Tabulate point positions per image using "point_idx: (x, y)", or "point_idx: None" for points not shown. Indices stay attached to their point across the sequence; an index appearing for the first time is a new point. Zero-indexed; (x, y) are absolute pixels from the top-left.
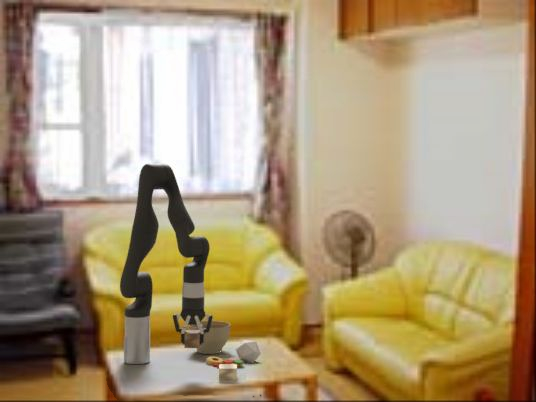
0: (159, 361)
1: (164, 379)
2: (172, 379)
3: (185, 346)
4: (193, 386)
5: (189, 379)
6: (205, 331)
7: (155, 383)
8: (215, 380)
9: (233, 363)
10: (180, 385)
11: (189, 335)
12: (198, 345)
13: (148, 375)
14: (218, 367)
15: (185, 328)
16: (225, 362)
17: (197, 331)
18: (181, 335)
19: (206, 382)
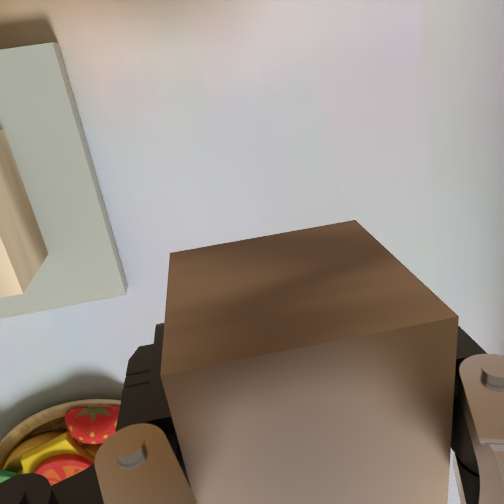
0: (452, 475)
1: (404, 165)
2: (355, 174)
3: (349, 229)
4: (177, 5)
5: (247, 193)
6: (66, 497)
7: (454, 55)
8: (29, 121)
9: (25, 467)
10: (279, 22)
11: (350, 311)
12: (180, 266)
13: (499, 235)
14: (113, 409)
15: (494, 441)
16: (74, 460)
17: (241, 498)
18: (477, 350)
19: (112, 136)
